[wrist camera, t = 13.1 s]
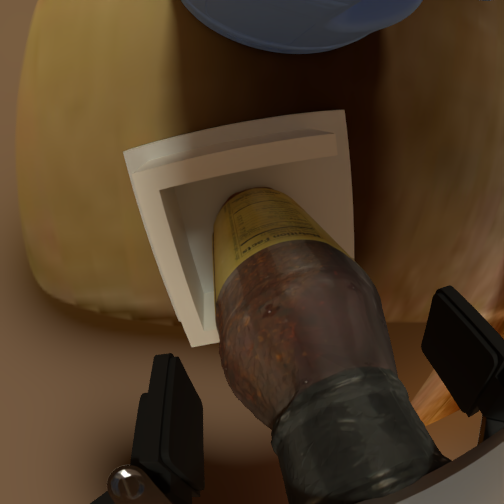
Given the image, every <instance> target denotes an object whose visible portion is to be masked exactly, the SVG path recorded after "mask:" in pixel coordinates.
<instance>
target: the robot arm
mask: <svg viewBox="0 0 504 504" xmlns="http://www.w3.org/2000/svg"><path fill="white" fill-rule="evenodd" d="M421 347H422V351H423V353H424V355H425V356H426V358H427V359H428V361H429V362H430V363H431V365H432V366H433V368H434V369H435V371H436V372H437V374H438V375H439V377H440V378H441V380H442V381H443V383H444V384H445V386H446V387H447V389H448V390H449V392H450V394H451V395H452V397H453V398H454V400H455V401H456V403H457V405H458V406H459V408H460V409H461V411H462V412H464V413H466V414H467V415H468V417H470V416H472V415H474V414H475V413H477V412H478V411H479V410H480V411H481V413H482V420H481V427H480V433H479V438H478V444H477V446H476V447H475V448H473V449H471V450H470V451H468V452H466V453H465V454H463V455H462V456H460V457H458V458H457V459H455V460H453V461H451V462H449V463H448V464H446V465H444V466H442V467H440V468H438V469H437V470H435V471H433V472H431V473H429V474H427V475H425V476H423V477H422V478H420V479H419V480H418V481H416V482H415V483H414V484H412V485H410V486H407V487H405V488H404V489H402V490H400V491H397V492H394V493H391V494H389V495H387V496H385V497H381V498H374V499H371V500H365V501H362V502H359V503H356V504H504V339H503V338H502V337H501V336H500V335H499V334H498V333H497V331H496V330H495V329H494V328H493V327H492V326H491V325H490V324H489V323H488V322H487V321H486V320H485V319H484V318H483V317H482V316H481V314H480V313H479V312H478V311H477V310H476V309H475V308H474V307H473V306H472V305H471V304H470V303H469V302H468V301H467V300H466V299H465V298H464V297H463V296H462V295H461V294H460V293H459V292H458V291H456V290H455V289H454V288H453V287H452V286H446V287H443V288H440V289H438V290H437V291H436V293H435V295H434V296H433V299H432V303H431V308H430V312H429V317H428V321H427V325H426V329H425V333H424V336H423V340H422V344H421ZM204 487H205V482H204V453H203V406H202V402H201V399H200V398H199V396H198V394H197V392H196V391H195V388H194V386H193V384H192V382H191V381H190V379H189V377H188V375H187V373H186V371H185V369H184V367H183V365H182V363H181V361H180V359H179V357H174V356H173V354H171V353H169V354H161V355H155V357H154V361H153V366H152V372H151V378H150V384H149V390H148V393H143V394H142V395H141V398H140V401H139V407H138V413H137V420H136V426H135V433H134V441H133V448H132V455H131V464H130V465H124V466H120V467H118V468H116V469H115V470H114V471H113V472H111V474H110V476H109V477H108V480H107V491H106V492H105V493H104V494H103V495H102V496H100V497H98V498H97V499H96V500H94V501H93V502H92V503H90V504H192V497H200V490H204Z"/></svg>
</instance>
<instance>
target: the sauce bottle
mask: <svg viewBox="0 0 504 504" xmlns="http://www.w3.org/2000/svg"><path fill="white" fill-rule="evenodd" d="M213 229H214V232H213V234H212V254H213V282H214V304H215V321H216V327H217V331H218V334H219V339H220V347H219V354H220V357H221V363H222V367H223V369H224V374H225V377H226V379H227V382H228V384H229V386H230V387H231V389H232V391H233V393H234V394H235V396H236V397H237V398H238V399H239V400H240V401H241V402H242V403H243V404H244V406H245V407H247V408H248V409H249V410H250V411H251V412H252V413H253V414H254V416H255V417H256V418H257V419H259V420H260V421H262V422H263V423H264V424H265V425H266V426H268V427H269V428H270V429H271V430H272V433H271V436H272V441H271V444H272V447H273V450H274V452H275V453H276V454H277V456H278V458H279V463H280V468H281V471H282V475H283V479H284V484H285V489H286V494H287V497H288V502H289V504H356V503H359V502H362V501H365V500H371V499H374V498H381V497H385V496H387V495H389V494H391V493H394V492H397V491H400V490H402V489H404V488H405V487H407V486H410V485H412V484H414V483H415V482H416V481H418V480H419V479H420V478H422V477H423V476H425V475H427V474H429V473H431V472H433V471H435V470H437V469H438V468H440V467H442V466H444V465H446V464H448V463H449V462H451V460H450V459H449V458H447V457H445V456H443V455H442V454H441V452H440V451H439V449H438V448H437V446H436V445H435V443H434V441H433V440H432V438H431V436H430V435H429V433H428V431H427V430H426V428H425V426H424V423H423V422H422V421H421V420H420V418H419V416H418V415H417V413H416V411H415V410H414V408H413V407H412V405H411V403H410V401H409V397H408V393H407V390H406V388H405V387H404V385H403V384H402V382H401V381H400V380H399V379H398V375H397V370H396V365H395V360H394V355H393V351H392V346H391V342H390V338H389V334H388V329H387V325H386V321H385V317H384V313H383V309H382V304H381V299H380V296H379V294H378V291H377V289H376V287H375V285H374V284H373V282H372V281H371V279H370V278H369V276H368V275H367V274H366V272H365V271H364V270H363V269H362V268H361V267H360V266H359V265H358V264H357V263H356V262H355V260H354V259H353V258H352V257H351V256H349V255H348V254H347V253H346V251H345V250H344V249H343V248H342V247H341V246H340V245H339V244H338V243H337V242H336V241H335V240H334V239H333V238H332V237H331V236H330V235H329V234H328V233H327V232H326V231H325V230H324V229H323V228H322V227H321V226H320V225H319V224H318V223H317V222H316V221H315V220H314V219H313V218H312V217H311V216H310V215H309V214H308V213H307V212H306V211H305V210H304V209H303V208H302V207H301V206H300V205H299V204H298V203H296V202H295V201H294V200H293V199H292V198H291V197H289V196H288V195H286V194H284V193H282V192H280V191H277V190H274V189H272V188H269V187H254V188H249V189H245V190H243V191H240V192H236V193H234V194H233V195H231V196H230V197H229V198H228V199H227V201H226V202H225V203H224V204H223V205H222V207H221V209H220V211H219V213H218V215H217V217H216V219H215V222H214V226H213Z"/></svg>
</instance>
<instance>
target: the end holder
mask: <svg viewBox="0 0 504 504" xmlns="http://www.w3.org/2000/svg"><path fill="white" fill-rule="evenodd" d="M123 153H124V157H125V161H126V165H127V169H128V172H129V176H130V180H131V183H132V187H133V190H134V194H135V197H136V200H137V204H138V207H139V210H140V214H141V217H142V220H143V223H144V226H145V229H146V233H147V236H148V239H149V242H150V245H151V248H152V250H153V253H154V256H155V259H156V262H157V265H158V268H159V270H160V273H161V276H162V279H163V281H164V284H165V287H166V289H167V292H168V295H169V297H170V300H171V302H172V305H173V308H174V310H175V313H176V315H177V318H178V320H179V321H181V323H182V325H183V327H184V330H185V332H186V335H187V337H188V340H189V342H190V344H191V347H196V346H202V345H207V344H212V343H218V342H220V339H219V334H218V331H217V327H216V321H215V304H214V282H213V254H212V234H213V232H214V229H213V226H214V222H215V219H216V217H217V215H218V213H219V211H220V209H221V207H222V205H223V204H224V203H225V202H226V201H227V199H228V198H229V197H230V196H231V195H233V194H234V193H236V192H240V191H243V190H245V189H249V188H254V187H269V188H272V189H274V190H277V191H280V192H282V193H284V194H286V195H288V196H289V197H291V198H292V199H293V200H294V201H295V202H296V203H298V204H299V205H300V206H301V207H302V208H303V209H304V210H305V211H306V212H307V213H308V214H309V215H310V216H311V217H312V218H313V219H314V220H315V221H316V222H317V223H318V224H319V225H320V226H321V227H322V228H323V229H324V230H325V231H326V232H327V233H328V234H329V235H330V236H331V237H332V238H333V239H334V240H335V241H336V242H337V243H338V244H339V245H340V246H341V247H342V248H343V249H344V250H345V251H346V253H347V254H348V255H349V256H351V257H352V258H353V259H354V218H353V196H352V180H351V167H350V155H349V145H348V135H347V126H346V118H345V110H326V111H316V112H306V113H297V114H289V115H282V116H275V117H268V118H262V119H255V120H250V121H244V122H238V123H233V124H228V125H223V126H218V127H213V128H208V129H204V130H199V131H195V132H191V133H187V134H182V135H178V136H175V137H171V138H167V139H163V140H159V141H156V142H152V143H149V144H145V145H142V146H138V147H135V148H132V149H129V150H126V151H124V152H123Z"/></svg>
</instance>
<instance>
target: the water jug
mask: <svg viewBox="0 0 504 504" xmlns="http://www.w3.org/2000/svg"><path fill="white" fill-rule="evenodd" d="M422 1H423V0H181V2H182V3H183V4H184V6H185V7H186V8H187V9H188V10H189V11H190V12H191V13H192V14H193V15H194V16H195V17H196V18H197V19H198V20H199V21H201V22H202V23H203V24H205V25H206V26H207V27H209V28H210V29H212V30H214V31H215V32H217V33H219V34H221V35H222V36H224V37H226V38H229V39H231V40H233V41H236V42H238V43H241V44H244V45H246V46H250V47H253V48H257V49H261V50H265V51H271V52H277V53H286V54H311V53H320V52H325V51H330V50H334V49H337V48H340V47H343V46H345V45H348V44H350V43H353V42H355V41H358V40H360V39H362V38H363V37H365V36H367V35H368V34H370V33H372V32H375V31H377V30H380V29H383V28H386V27H388V26H391V25H394V24H396V23H398V22H400V21H402V20H403V19H405V18H406V17H408V16H409V15H410V14H411V13H413V12H414V11H415V10H416V9H417V7H418V6H419V5H420V4H421V2H422ZM484 1H488V0H484Z"/></svg>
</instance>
